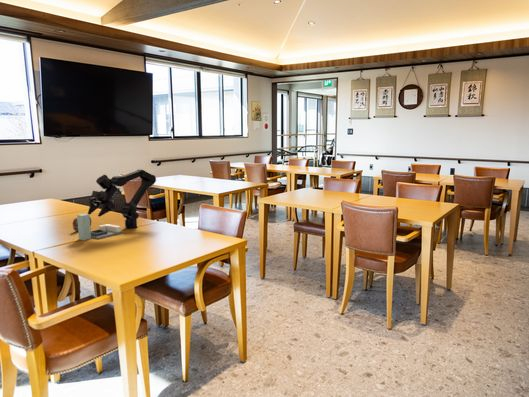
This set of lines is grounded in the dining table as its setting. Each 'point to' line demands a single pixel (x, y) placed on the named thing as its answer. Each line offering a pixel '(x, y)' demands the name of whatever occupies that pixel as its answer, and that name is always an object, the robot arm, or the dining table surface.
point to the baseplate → (106, 231)
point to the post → (84, 226)
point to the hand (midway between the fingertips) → (93, 215)
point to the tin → (75, 224)
